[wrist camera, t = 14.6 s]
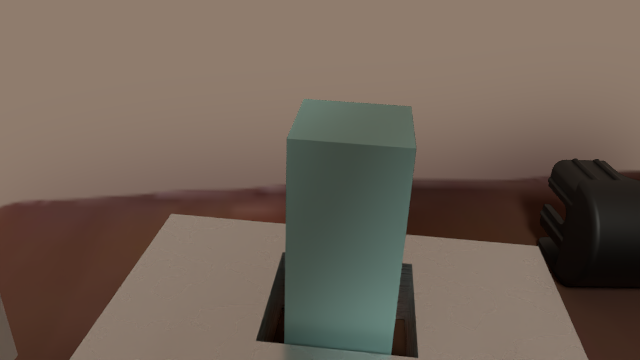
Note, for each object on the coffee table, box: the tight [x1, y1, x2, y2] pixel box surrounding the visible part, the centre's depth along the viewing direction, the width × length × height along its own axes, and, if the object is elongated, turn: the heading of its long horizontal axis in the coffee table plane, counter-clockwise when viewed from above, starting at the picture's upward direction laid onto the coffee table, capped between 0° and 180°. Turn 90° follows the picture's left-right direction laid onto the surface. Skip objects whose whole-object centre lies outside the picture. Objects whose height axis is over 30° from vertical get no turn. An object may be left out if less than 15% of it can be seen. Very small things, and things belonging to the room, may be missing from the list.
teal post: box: [284, 99, 416, 355], centre depth 24 cm, size 4×4×12 cm
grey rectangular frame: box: [70, 214, 588, 360], centre depth 26 cm, size 20×12×4 cm, turn 84°
